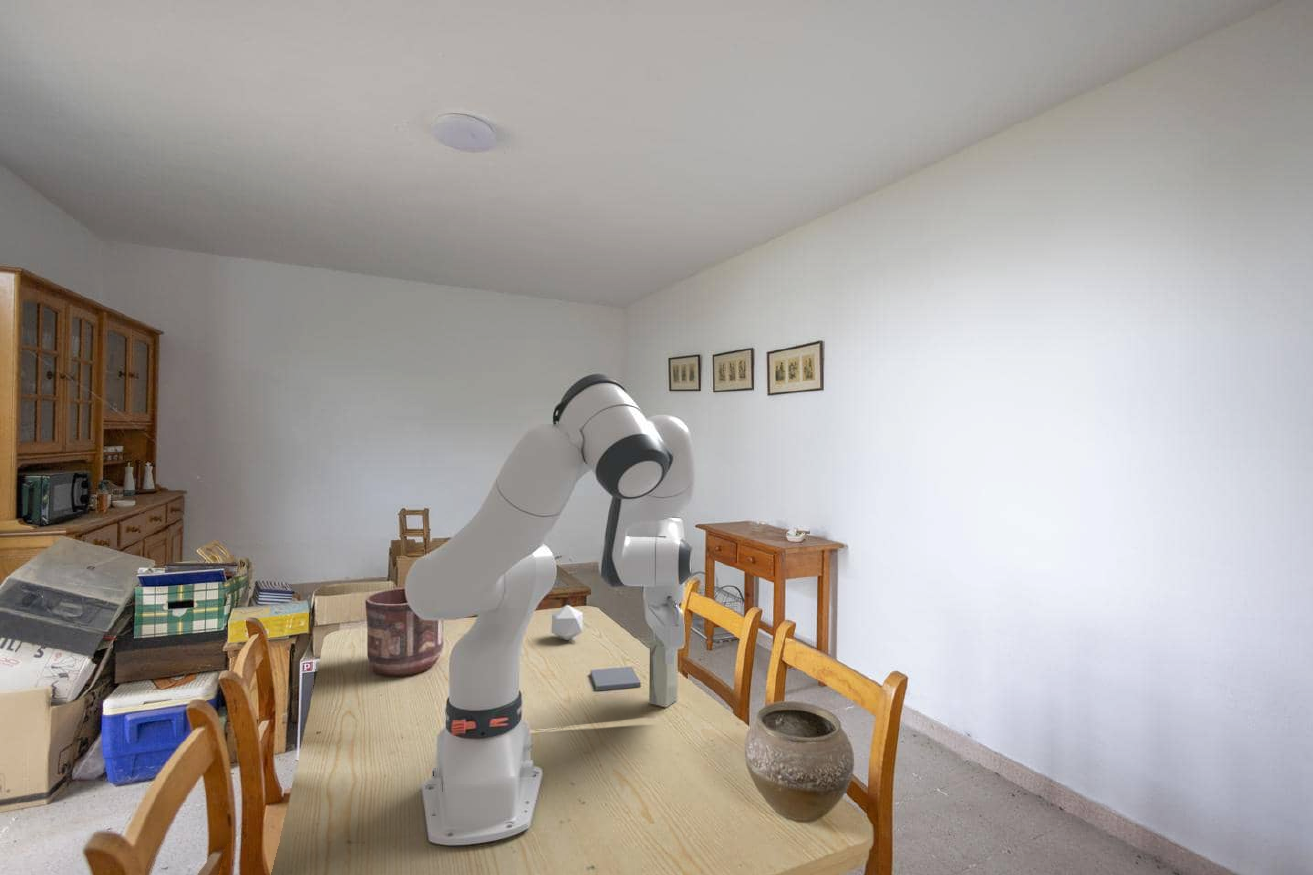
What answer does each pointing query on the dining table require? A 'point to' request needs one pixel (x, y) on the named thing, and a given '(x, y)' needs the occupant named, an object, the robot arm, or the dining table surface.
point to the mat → (615, 678)
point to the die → (567, 622)
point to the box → (662, 676)
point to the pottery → (400, 636)
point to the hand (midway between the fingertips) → (663, 656)
